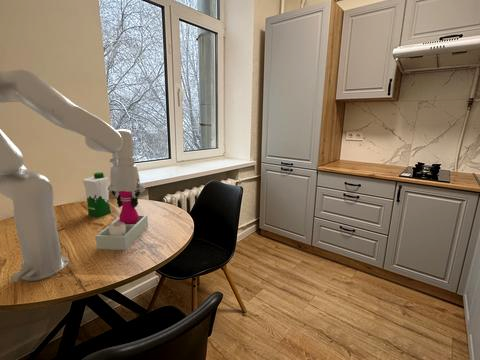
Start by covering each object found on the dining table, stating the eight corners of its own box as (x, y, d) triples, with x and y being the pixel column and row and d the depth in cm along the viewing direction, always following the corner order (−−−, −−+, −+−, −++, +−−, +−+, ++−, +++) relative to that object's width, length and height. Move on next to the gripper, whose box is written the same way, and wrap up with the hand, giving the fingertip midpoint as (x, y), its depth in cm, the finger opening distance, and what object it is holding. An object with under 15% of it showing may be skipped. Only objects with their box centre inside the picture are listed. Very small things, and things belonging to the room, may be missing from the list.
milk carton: (113, 212, 130) (109, 173, 125) (98, 218, 122) (92, 177, 117) (101, 209, 133) (96, 171, 128) (84, 215, 125) (79, 175, 120)
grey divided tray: (126, 252, 93) (124, 237, 92) (97, 251, 93) (95, 236, 92) (148, 228, 113) (147, 215, 111) (124, 227, 113) (122, 214, 112)
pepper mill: (117, 227, 107) (112, 180, 102) (134, 222, 112) (130, 177, 107) (125, 232, 102) (120, 184, 97) (142, 227, 107) (138, 180, 102)
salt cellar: (122, 246, 95) (120, 224, 93) (107, 245, 96) (105, 224, 93) (129, 238, 101) (127, 218, 99) (115, 238, 101) (113, 218, 99)
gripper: (96, 163, 97) (102, 209, 101) (141, 164, 96) (145, 210, 101) (107, 159, 104) (112, 202, 109) (149, 161, 104) (152, 203, 108)
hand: (127, 205), depth 105 cm, fingers closed on pepper mill, 5 cm apart
